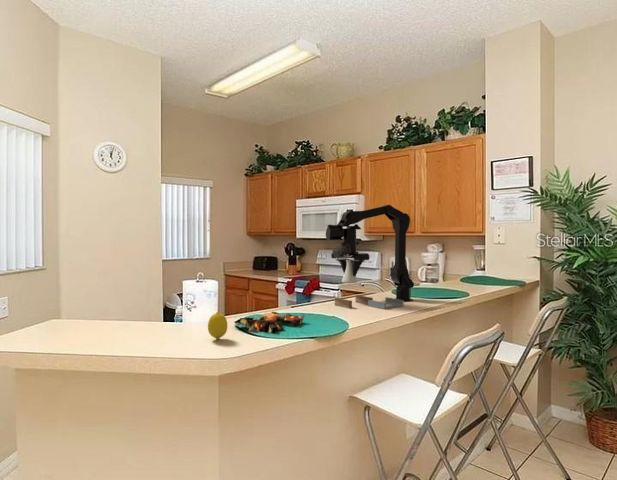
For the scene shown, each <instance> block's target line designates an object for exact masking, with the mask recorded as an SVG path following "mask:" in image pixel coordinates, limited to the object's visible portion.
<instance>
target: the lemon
mask: <svg viewBox="0 0 617 480" xmlns="http://www.w3.org/2000/svg"><path fill="white" fill-rule="evenodd" d="M207 330H208V333H209V335H210V336H211V337H213V338H214V339H215V340H217V341H218V340H220V339H221V338H222V337H224V336H225V335H226V334H227V331H228V321H227V318H226V316H225V315H224V314H223V313H220V312H218V311H217V312H215V313H214V314H212V315H211V316H210V317H209V320H208V321H207Z"/></svg>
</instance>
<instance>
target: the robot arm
mask: <svg viewBox="0 0 617 480" xmlns="http://www.w3.org/2000/svg"><path fill="white" fill-rule="evenodd" d="M383 215H384V216H385V217H386V218H387V219H388V220H389V221H391V224H392V228H393V231H394V234H395V235H394V236H395V237H394V265H393V267H389V273H390V274H389V277H390V280H392V282H393V284H394V285H393V286H395V287H396V290H395V291H396V292H395V298H394V299H400V300H403V302H409V301H413V300H414V298H412V297H411V296H412V295H411V292H412V291H411V289H412V288H414V285H415V283H414V282H413V281H412V279H411V278H410V274H409V269H408V268H407V265H406V261H407V260H406V259H407V258H406V257H407V256H406V255H407V251H406V250H407V245H406V244H407V232H408V230H409V227H410V223H411V217H410V215H409V214H408V213H405V212H403V211H401V210H399V209H398V208H396V207H394V206H392V205H391V204H383V205H382V206H376V207H372V208H368V209H364V210H351V211H350V210H349V211H344V212H343V213H342V214H341V216H340V217H341V218H340V220H339V221H338V223H337V224H327V228H326V229H325V230H326V231H325V238H326V239H325V240H327V241H341V240H343V241H342V242H340V246H338V247H336V248H334V249H332V253H331V254H330V255H331V257H330V258H331V259H335V260H336V261H337V262H338V263H339V264H340V265H341V269H342V272H343V274H344V273H345V270H346V266H347V261H346V260H350V259H351V260H352V261H351V263H352V266H353V276H356V277H357V275H358V272H359V270H360V267H361V265H362V264H363V262H365V261H368V260H370V255H369V253H365V252H360V253H359V251H357V246H359V241H357V230H361V229H362V228H361V227H360V226H359V224H357V223H359V222H361V221H363V220H366V219H369V218H373V217H378V216H383ZM344 227H345V228H344Z"/></svg>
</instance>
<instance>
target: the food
mask: <svg viewBox="0 0 617 480" xmlns="http://www.w3.org/2000/svg"><path fill="white" fill-rule="evenodd" d="M304 319H305V315H300V316H299V315H293V314H291V313H286V314H284V315H283V316H281V315H280V313H279V312H277V311H270V312H269V311H268V312H264V313H263V314H262V315H261V316H260V317H259V318H255V317H240V318H239V319H237V320H235V321H234V322H233V323H234V324H236V325H237V326H240V325H241V326H246V328H247V329H248V332H250V333H259V332H260V333H261V332H262V333H268V334H276V333H277V332H283V331H284V328H286V326H283V324H281V323H284V322H287V321H288V322H291V328H294V327H297V326H299V325H302V324H303V323H304V322H303V321H304Z"/></svg>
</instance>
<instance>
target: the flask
mask: <svg viewBox="0 0 617 480" xmlns="http://www.w3.org/2000/svg"><path fill="white" fill-rule="evenodd" d="M352 260H353V259H349V260H346V261H347V266H346V270H345V273H344V272H343V277H342V279H341V283H343V284H358V282H359V280H358V278H357V275H356V276H353V266H352V263H351V261H352Z"/></svg>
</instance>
